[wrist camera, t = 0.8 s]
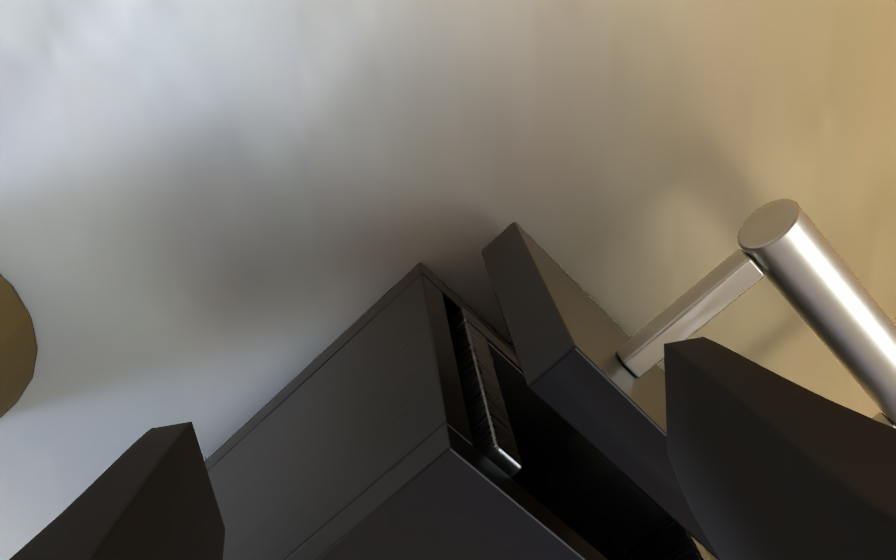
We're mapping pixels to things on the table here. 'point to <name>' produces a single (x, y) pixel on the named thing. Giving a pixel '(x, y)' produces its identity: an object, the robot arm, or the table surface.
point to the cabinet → (380, 455)
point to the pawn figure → (14, 347)
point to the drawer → (637, 377)
